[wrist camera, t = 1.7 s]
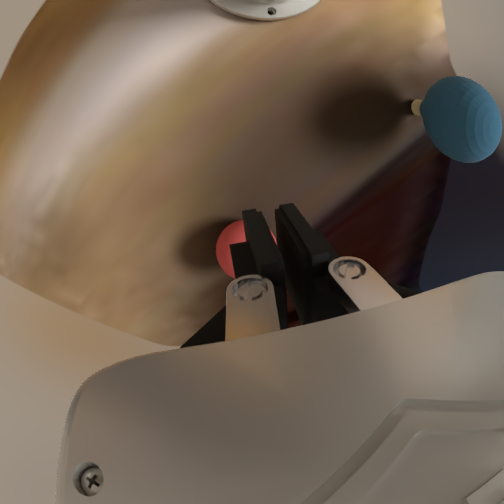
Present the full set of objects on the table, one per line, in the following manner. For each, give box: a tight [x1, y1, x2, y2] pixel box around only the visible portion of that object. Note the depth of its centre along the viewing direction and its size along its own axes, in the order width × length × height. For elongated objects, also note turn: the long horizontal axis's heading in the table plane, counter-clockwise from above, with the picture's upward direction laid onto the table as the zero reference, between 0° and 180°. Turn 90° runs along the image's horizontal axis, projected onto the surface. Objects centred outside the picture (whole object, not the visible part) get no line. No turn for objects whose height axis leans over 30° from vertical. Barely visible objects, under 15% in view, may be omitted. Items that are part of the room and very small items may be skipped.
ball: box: [216, 220, 277, 278], centre depth 29 cm, size 6×6×6 cm
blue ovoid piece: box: [411, 76, 502, 163], centre depth 21 cm, size 8×8×12 cm
